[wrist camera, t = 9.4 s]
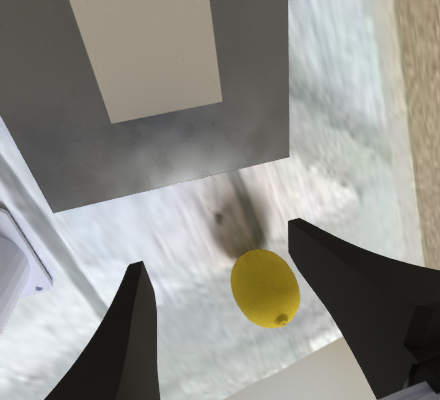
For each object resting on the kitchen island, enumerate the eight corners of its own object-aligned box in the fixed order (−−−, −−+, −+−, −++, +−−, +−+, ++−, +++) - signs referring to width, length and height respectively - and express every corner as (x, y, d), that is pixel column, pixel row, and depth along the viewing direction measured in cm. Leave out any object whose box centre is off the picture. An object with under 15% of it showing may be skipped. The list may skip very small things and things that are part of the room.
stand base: (56, 206, 20) (34, 249, 16) (-141, -170, 11) (-322, -310, 7) (283, 152, 23) (317, 177, 18) (276, -188, 14) (340, -297, 9)
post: (124, 87, 14) (109, 126, 7) (102, 14, 12) (57, -26, 6) (184, 77, 14) (225, 103, 8) (171, 4, 13) (206, -44, 6)
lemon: (213, 274, 27) (237, 348, 21) (233, 228, 25) (267, 294, 19) (261, 279, 29) (297, 348, 23) (283, 237, 27) (330, 299, 21)
